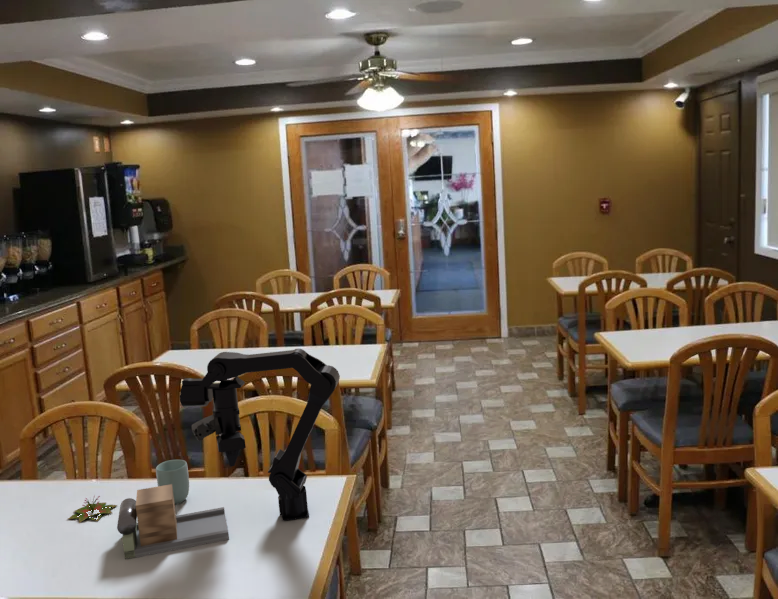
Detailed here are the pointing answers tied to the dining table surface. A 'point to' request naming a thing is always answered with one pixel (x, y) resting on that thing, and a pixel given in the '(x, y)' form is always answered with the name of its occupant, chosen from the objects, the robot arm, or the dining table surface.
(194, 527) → the bay
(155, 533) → the brown wooden block
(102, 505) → the lily flower
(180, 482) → the cup
